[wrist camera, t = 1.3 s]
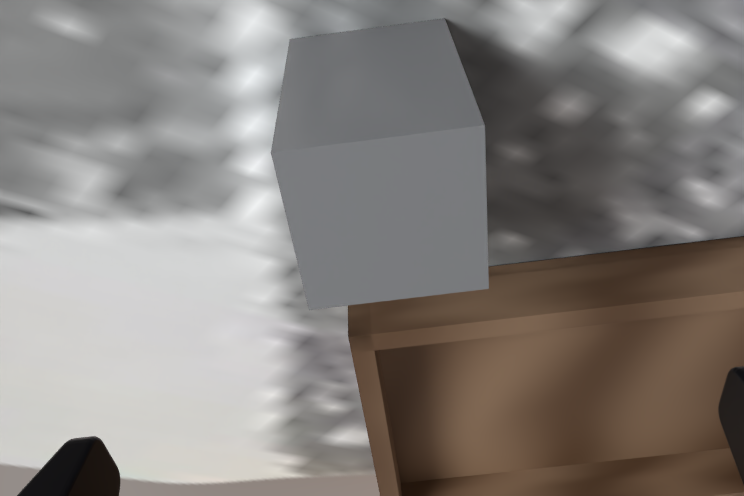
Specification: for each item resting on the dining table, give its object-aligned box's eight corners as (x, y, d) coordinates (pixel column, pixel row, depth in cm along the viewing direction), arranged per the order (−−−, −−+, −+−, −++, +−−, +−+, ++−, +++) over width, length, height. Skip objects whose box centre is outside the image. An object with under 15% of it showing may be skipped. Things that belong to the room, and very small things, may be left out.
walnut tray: (887, 219, 22) (942, 267, 20) (795, 440, 28) (830, 493, 26) (347, 283, 22) (348, 337, 20) (385, 484, 29) (388, 538, 27)
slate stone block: (444, 18, 17) (484, 124, 12) (452, 155, 20) (488, 288, 15) (289, 39, 17) (270, 152, 13) (316, 171, 20) (308, 310, 15)
